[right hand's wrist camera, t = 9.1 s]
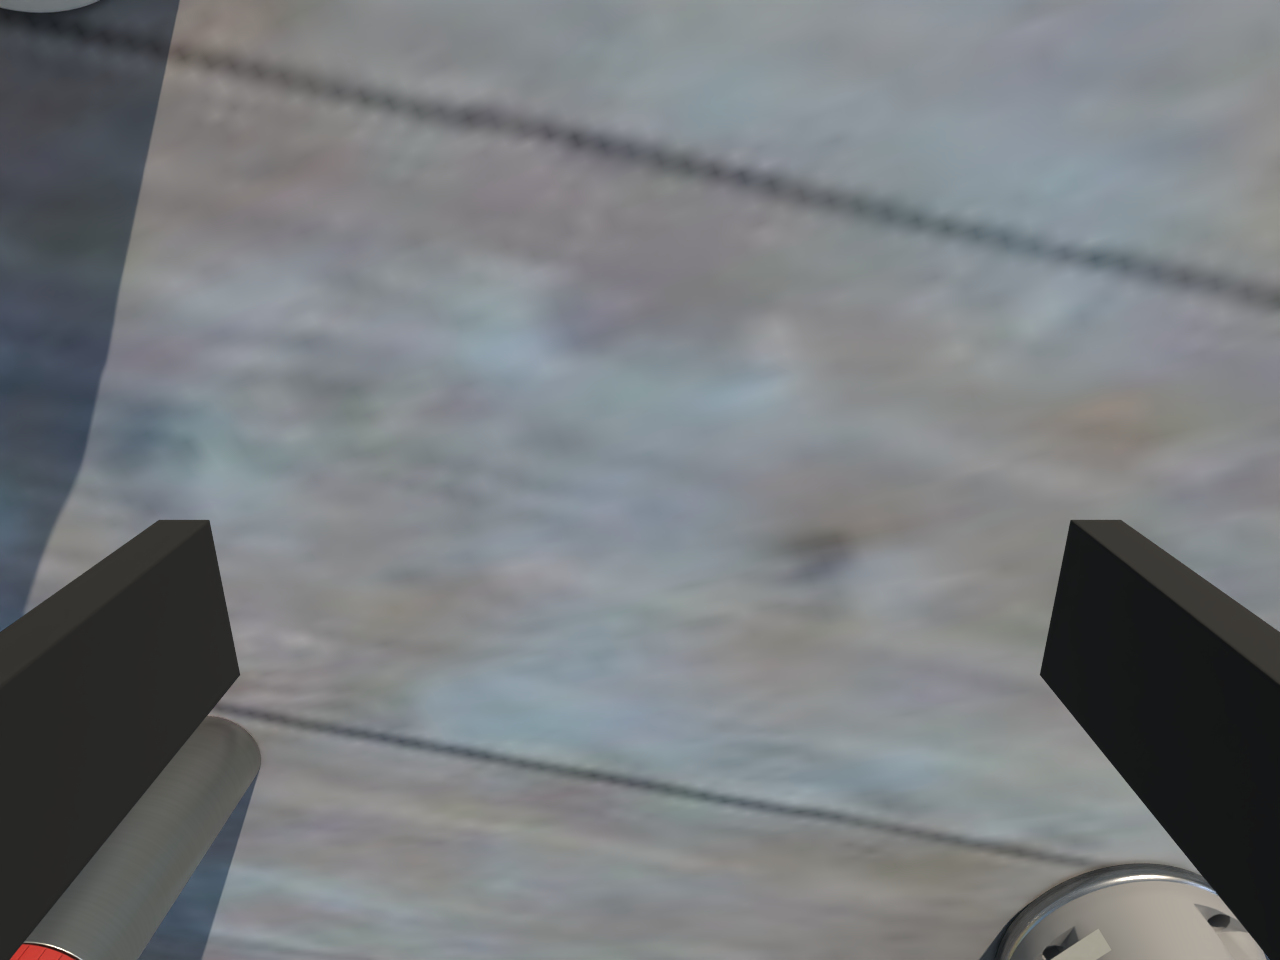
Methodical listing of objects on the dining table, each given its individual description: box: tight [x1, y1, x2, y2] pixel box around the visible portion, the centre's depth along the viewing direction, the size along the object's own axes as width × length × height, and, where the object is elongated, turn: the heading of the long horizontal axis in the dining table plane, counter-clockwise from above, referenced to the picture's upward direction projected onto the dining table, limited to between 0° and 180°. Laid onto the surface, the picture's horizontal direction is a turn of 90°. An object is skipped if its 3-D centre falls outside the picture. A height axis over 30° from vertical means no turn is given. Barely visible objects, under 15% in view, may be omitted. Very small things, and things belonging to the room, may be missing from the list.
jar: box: [23, 716, 261, 960], centre depth 39 cm, size 5×5×16 cm
